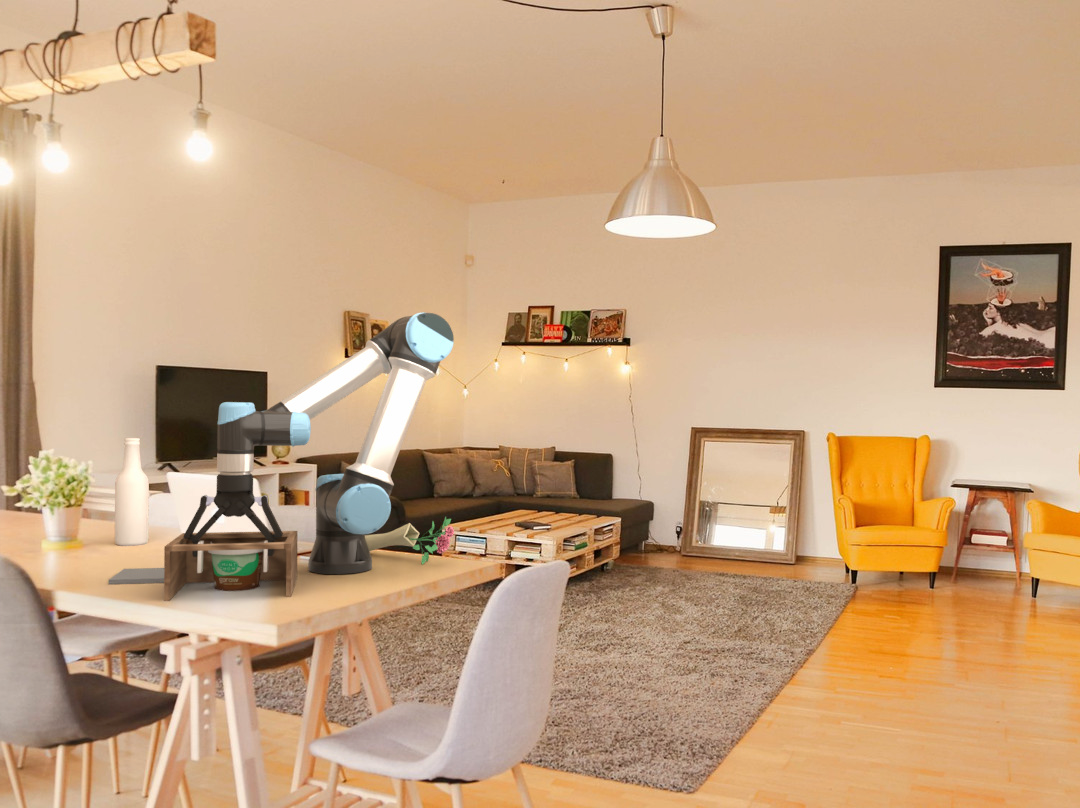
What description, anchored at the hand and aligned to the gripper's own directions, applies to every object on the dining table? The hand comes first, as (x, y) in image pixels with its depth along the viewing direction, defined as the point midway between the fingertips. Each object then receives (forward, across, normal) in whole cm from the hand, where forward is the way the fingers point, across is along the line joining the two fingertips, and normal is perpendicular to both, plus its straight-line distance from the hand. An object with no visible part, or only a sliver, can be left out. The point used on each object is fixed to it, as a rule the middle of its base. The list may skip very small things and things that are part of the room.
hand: (233, 571), depth 203 cm
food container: (+4, 0, 0) cm, 4 cm away
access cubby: (+4, 0, 0) cm, 4 cm away
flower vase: (+3, -39, -33) cm, 51 cm away
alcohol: (+4, +37, -72) cm, 81 cm away
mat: (+4, +21, -17) cm, 27 cm away
